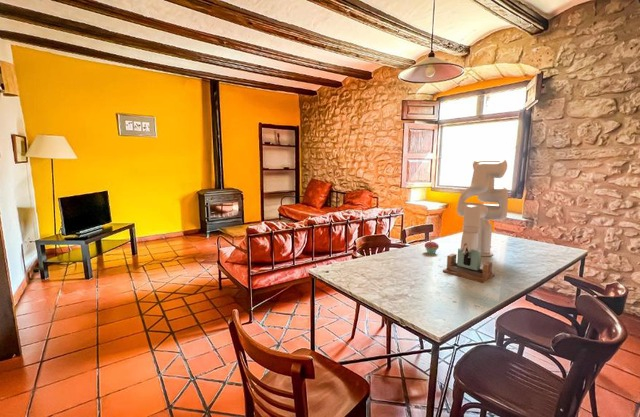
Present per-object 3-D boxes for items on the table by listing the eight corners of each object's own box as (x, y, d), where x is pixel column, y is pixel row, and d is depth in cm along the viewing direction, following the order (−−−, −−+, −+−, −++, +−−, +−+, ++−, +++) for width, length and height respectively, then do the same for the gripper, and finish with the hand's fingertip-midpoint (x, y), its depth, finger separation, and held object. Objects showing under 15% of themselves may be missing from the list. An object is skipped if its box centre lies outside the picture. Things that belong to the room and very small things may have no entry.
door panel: (460, 263, 159) (461, 247, 157) (480, 268, 151) (481, 251, 150) (457, 265, 156) (458, 248, 155) (476, 270, 149) (478, 253, 147)
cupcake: (433, 255, 185) (434, 236, 183) (421, 252, 192) (422, 234, 190) (440, 252, 191) (441, 234, 189) (428, 250, 197) (429, 232, 195)
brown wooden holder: (455, 265, 166) (456, 252, 165) (494, 275, 151) (495, 260, 150) (442, 271, 157) (443, 257, 156) (483, 282, 142) (484, 266, 141)
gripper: (470, 225, 159) (468, 258, 162) (456, 230, 148) (453, 265, 151) (485, 228, 153) (483, 262, 156) (471, 232, 143) (469, 269, 145)
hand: (468, 263), depth 153 cm, fingers closed on door panel, 4 cm apart
